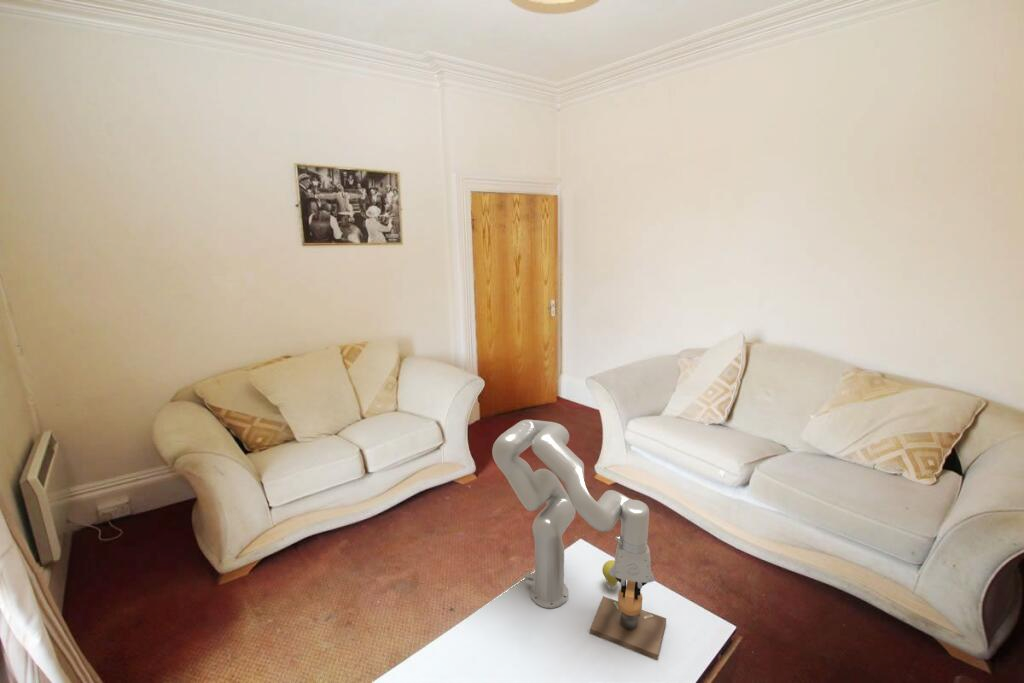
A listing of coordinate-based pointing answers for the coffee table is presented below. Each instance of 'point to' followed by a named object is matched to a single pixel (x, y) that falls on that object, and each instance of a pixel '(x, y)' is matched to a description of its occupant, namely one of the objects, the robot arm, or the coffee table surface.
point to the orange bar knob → (630, 600)
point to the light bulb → (610, 579)
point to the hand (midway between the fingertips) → (630, 594)
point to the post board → (629, 638)
